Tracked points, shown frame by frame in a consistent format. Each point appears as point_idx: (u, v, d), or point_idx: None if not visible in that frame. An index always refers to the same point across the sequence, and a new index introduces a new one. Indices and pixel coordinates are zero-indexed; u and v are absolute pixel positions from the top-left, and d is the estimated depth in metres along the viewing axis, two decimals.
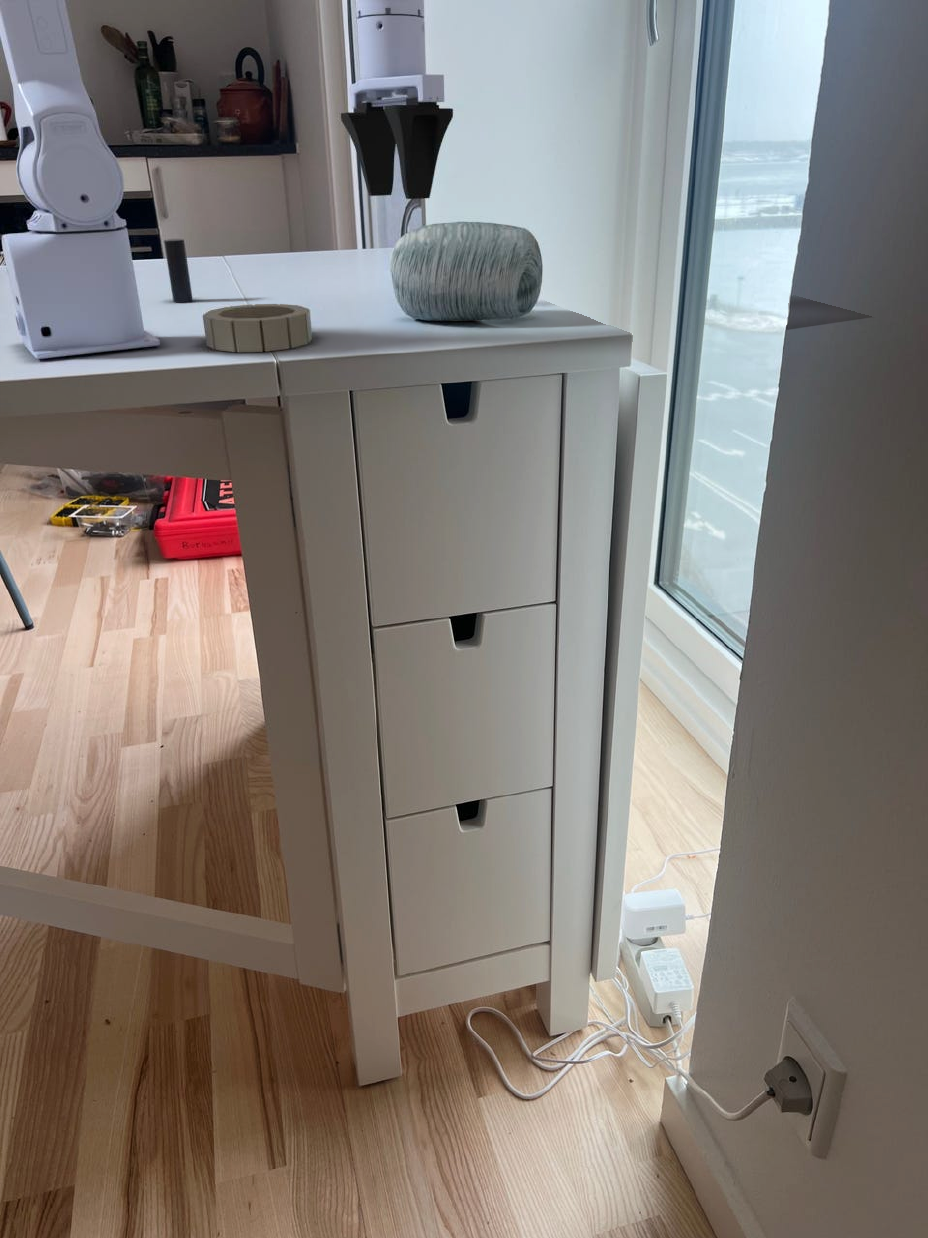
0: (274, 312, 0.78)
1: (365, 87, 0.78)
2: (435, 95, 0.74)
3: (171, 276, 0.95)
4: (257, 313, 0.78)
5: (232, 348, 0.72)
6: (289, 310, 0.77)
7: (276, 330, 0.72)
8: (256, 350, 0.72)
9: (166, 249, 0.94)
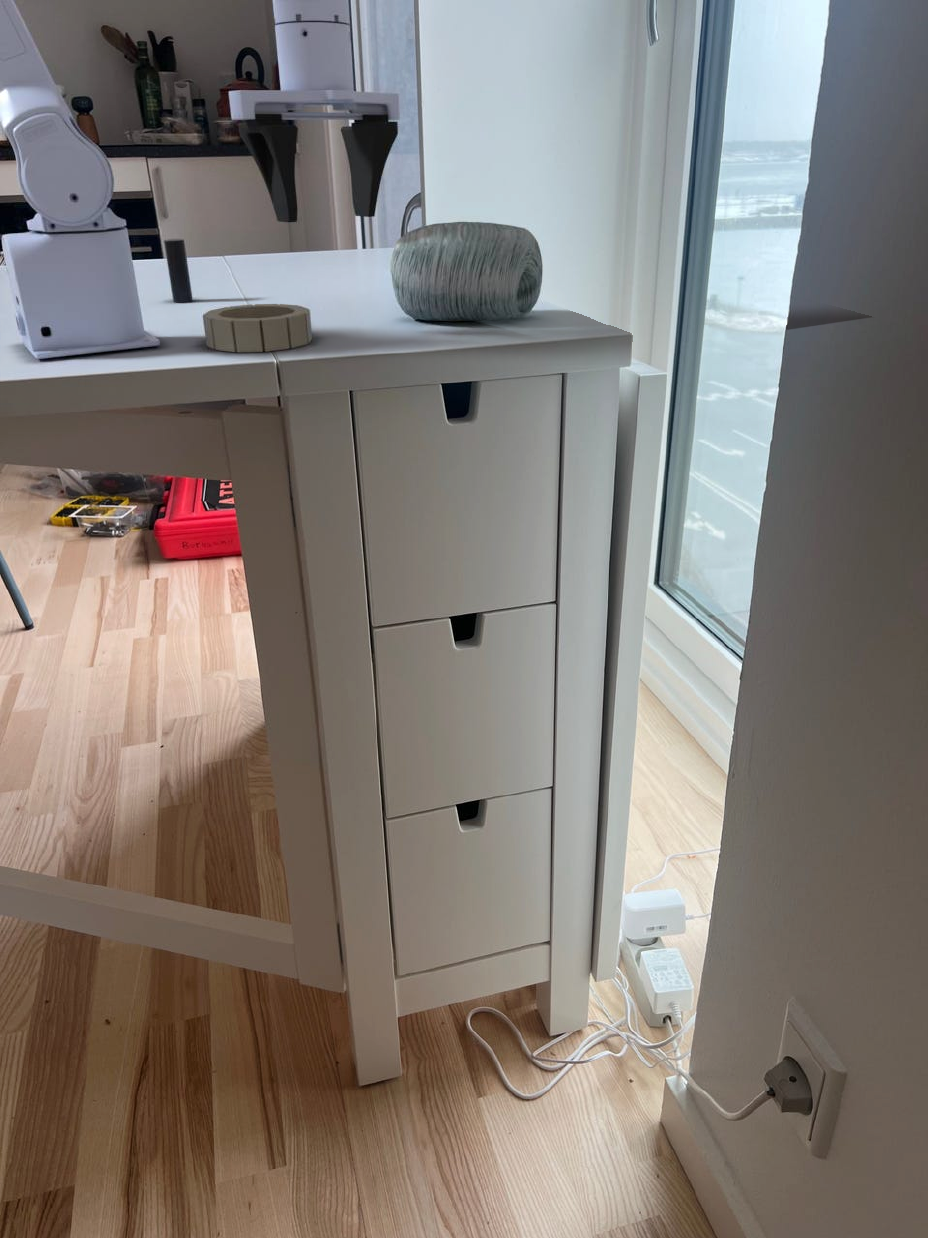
0: (274, 312, 0.78)
1: None
2: (237, 112, 0.69)
3: (171, 276, 0.95)
4: (257, 313, 0.78)
5: (232, 348, 0.72)
6: (289, 310, 0.77)
7: (276, 330, 0.72)
8: (256, 350, 0.72)
9: (166, 249, 0.94)
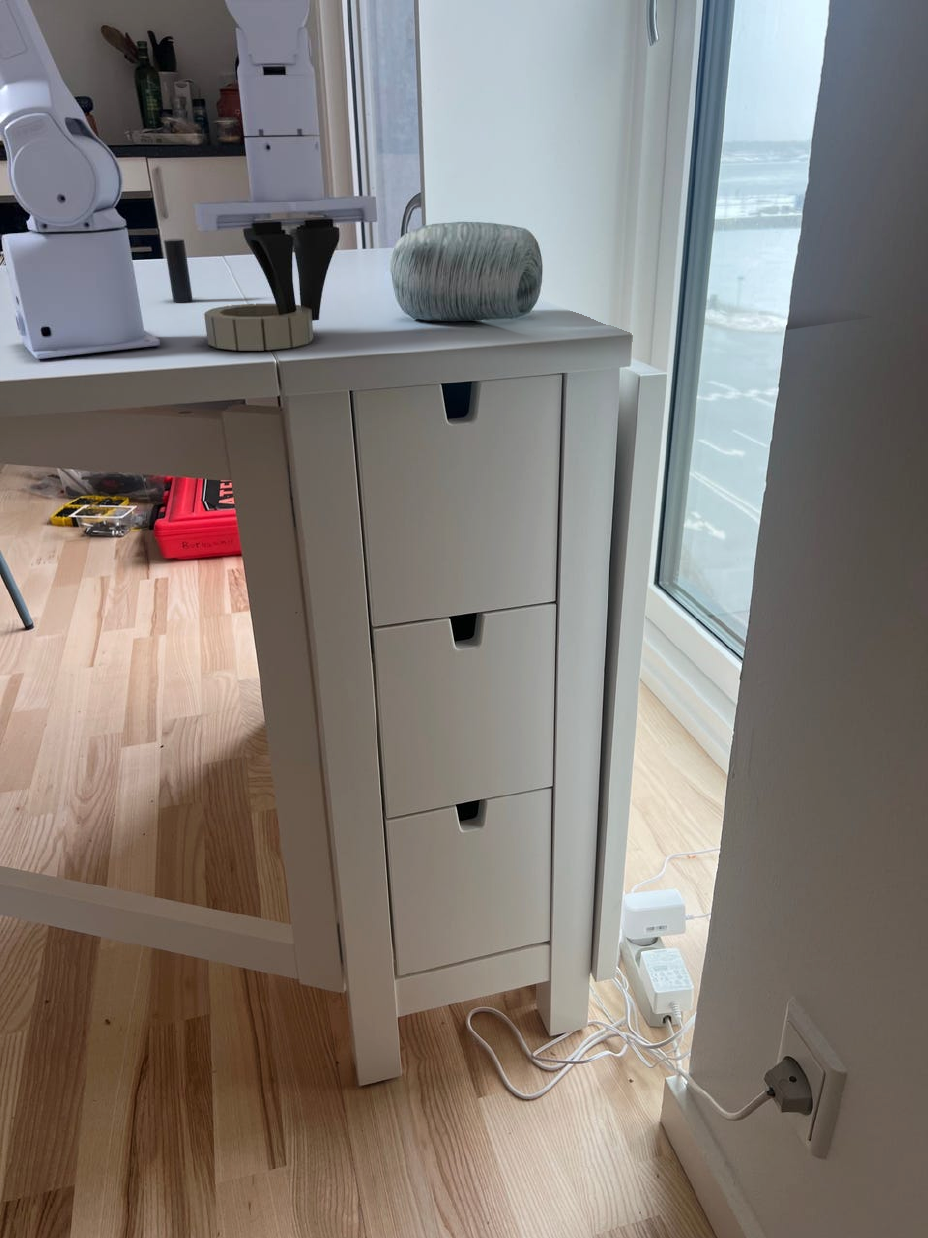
0: (276, 311, 0.78)
1: None
2: (200, 224, 0.70)
3: (171, 276, 0.95)
4: (258, 312, 0.78)
5: (233, 346, 0.72)
6: None
7: (277, 329, 0.72)
8: (257, 348, 0.72)
9: (166, 249, 0.94)
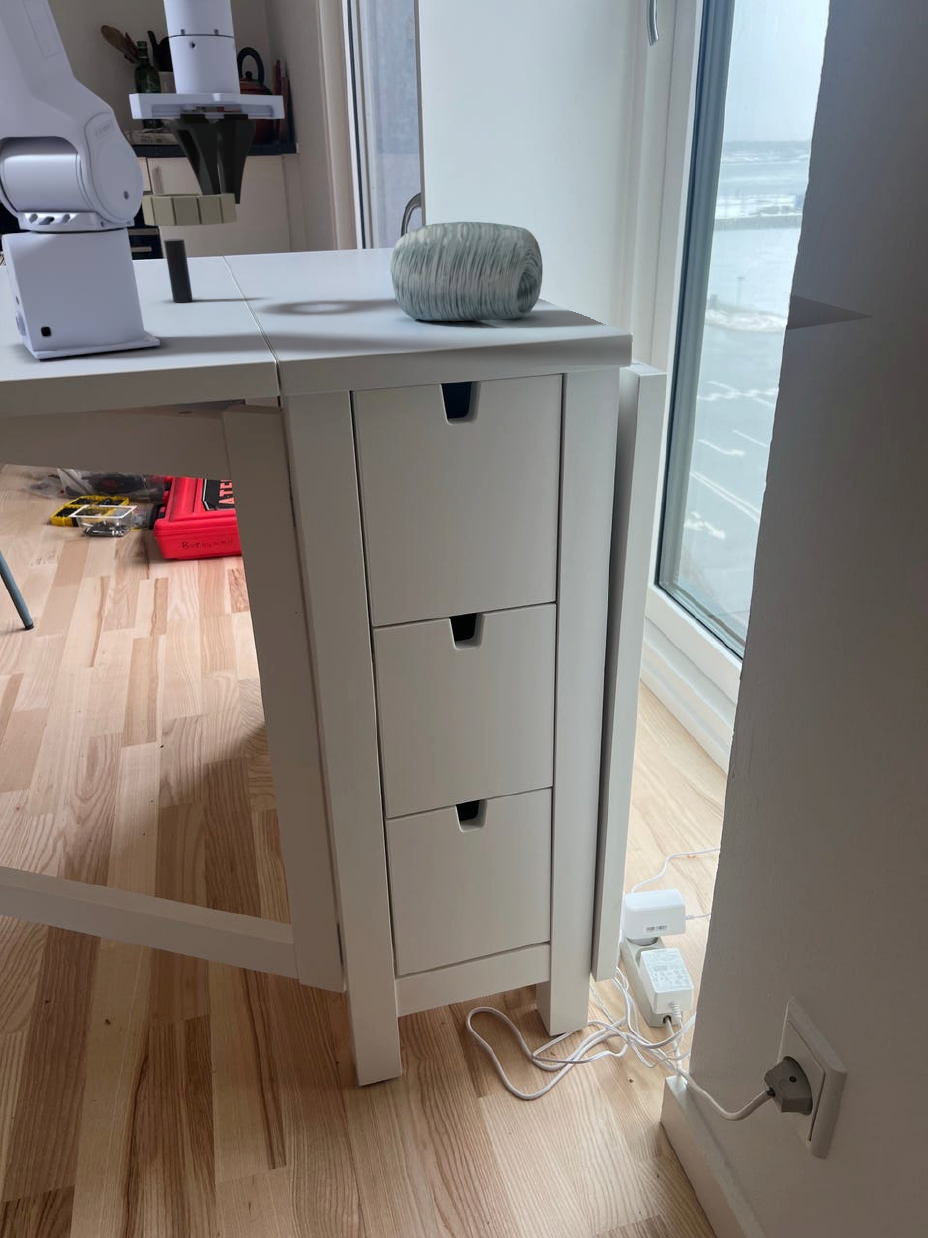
0: None
1: None
2: (136, 112, 0.81)
3: (171, 276, 0.95)
4: None
5: (172, 222, 0.84)
6: None
7: (211, 206, 0.84)
8: (194, 223, 0.84)
9: (166, 249, 0.94)
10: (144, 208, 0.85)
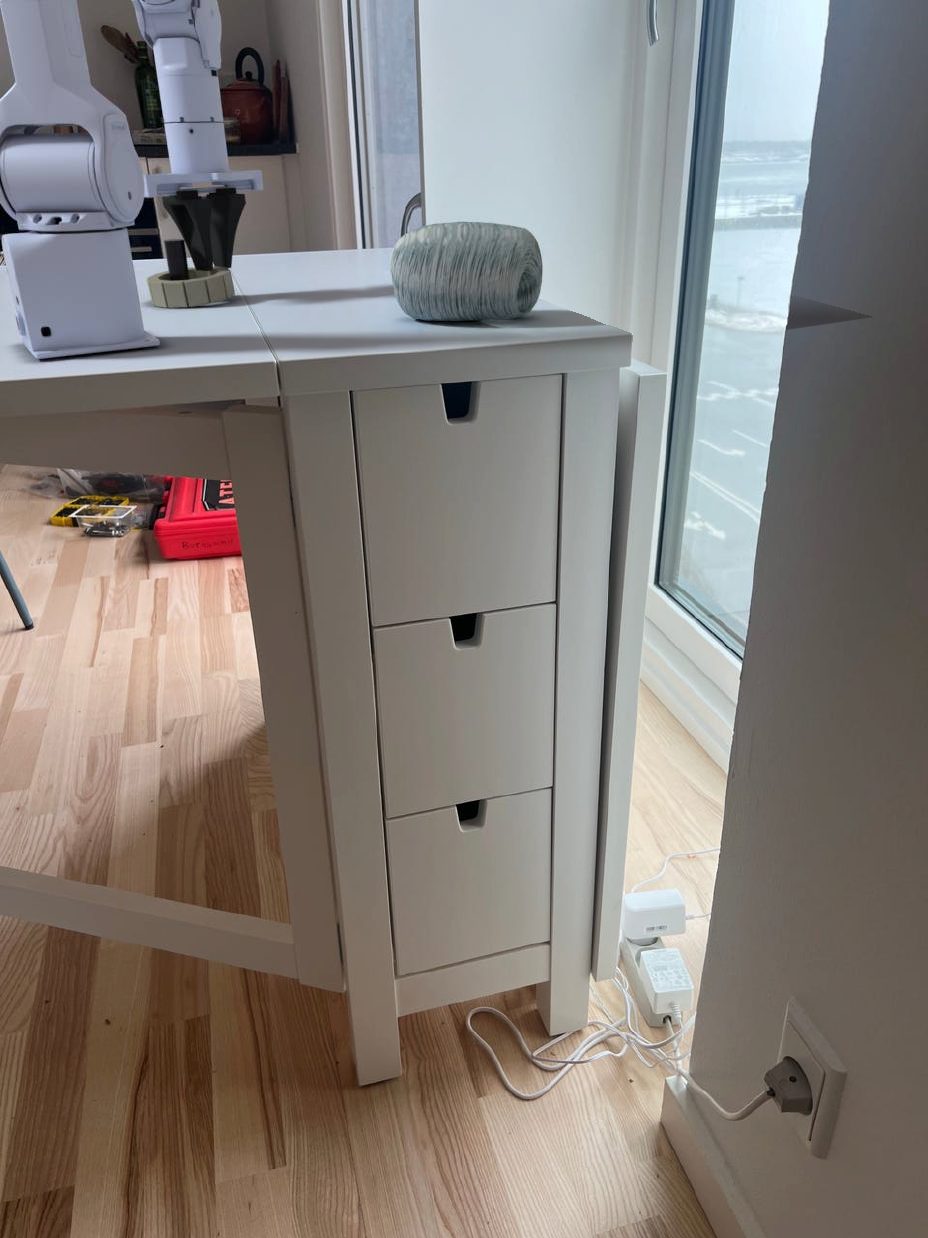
0: (194, 273, 0.98)
1: None
2: None
3: (171, 276, 0.95)
4: None
5: (184, 304, 0.93)
6: None
7: (216, 285, 0.93)
8: (204, 303, 0.93)
9: (166, 249, 0.94)
10: (153, 292, 0.93)
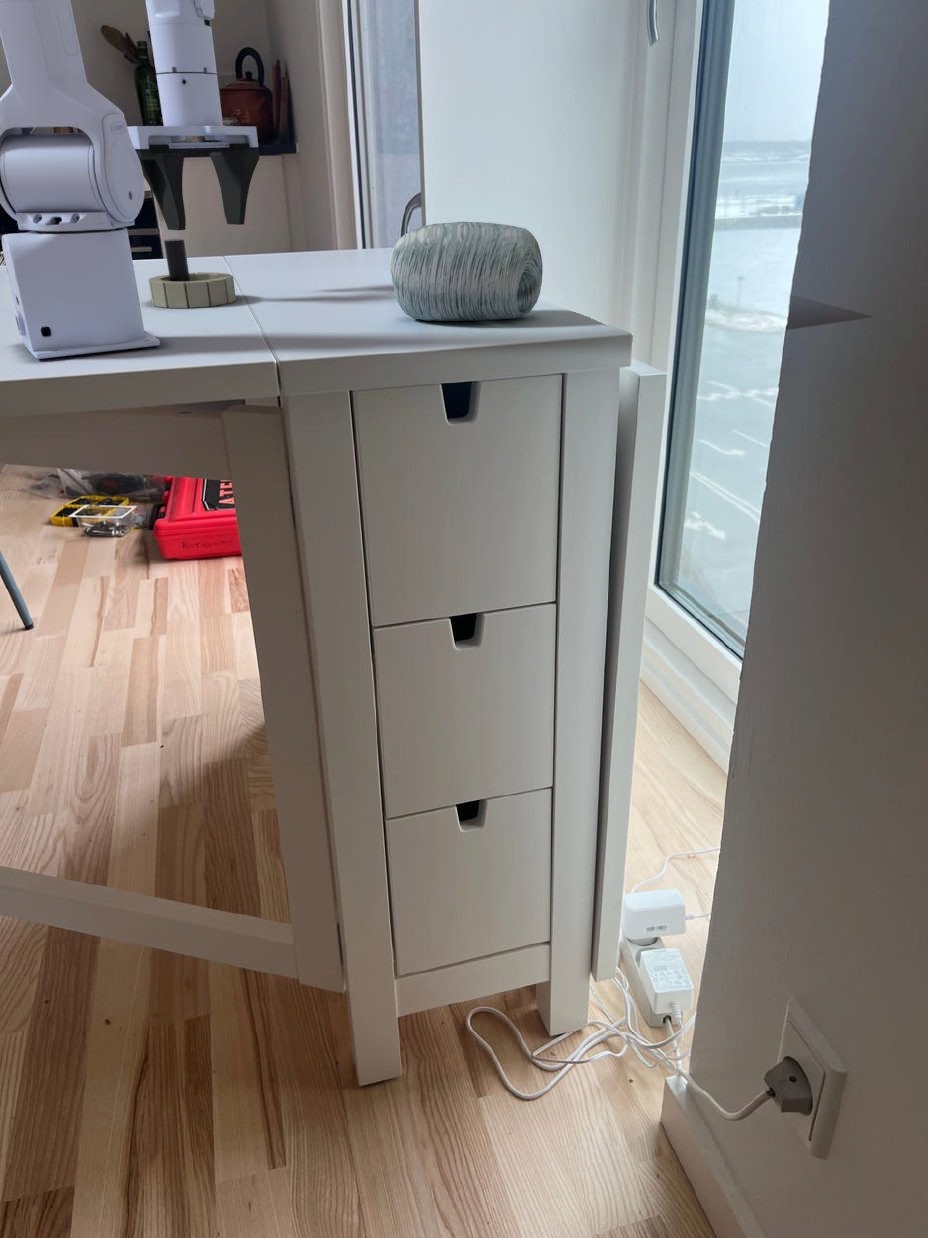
0: (196, 278, 0.98)
1: None
2: (134, 144, 0.87)
3: (171, 276, 0.95)
4: None
5: (185, 305, 0.93)
6: (211, 276, 0.98)
7: (218, 289, 0.94)
8: (205, 305, 0.93)
9: (166, 249, 0.94)
10: (154, 292, 0.93)
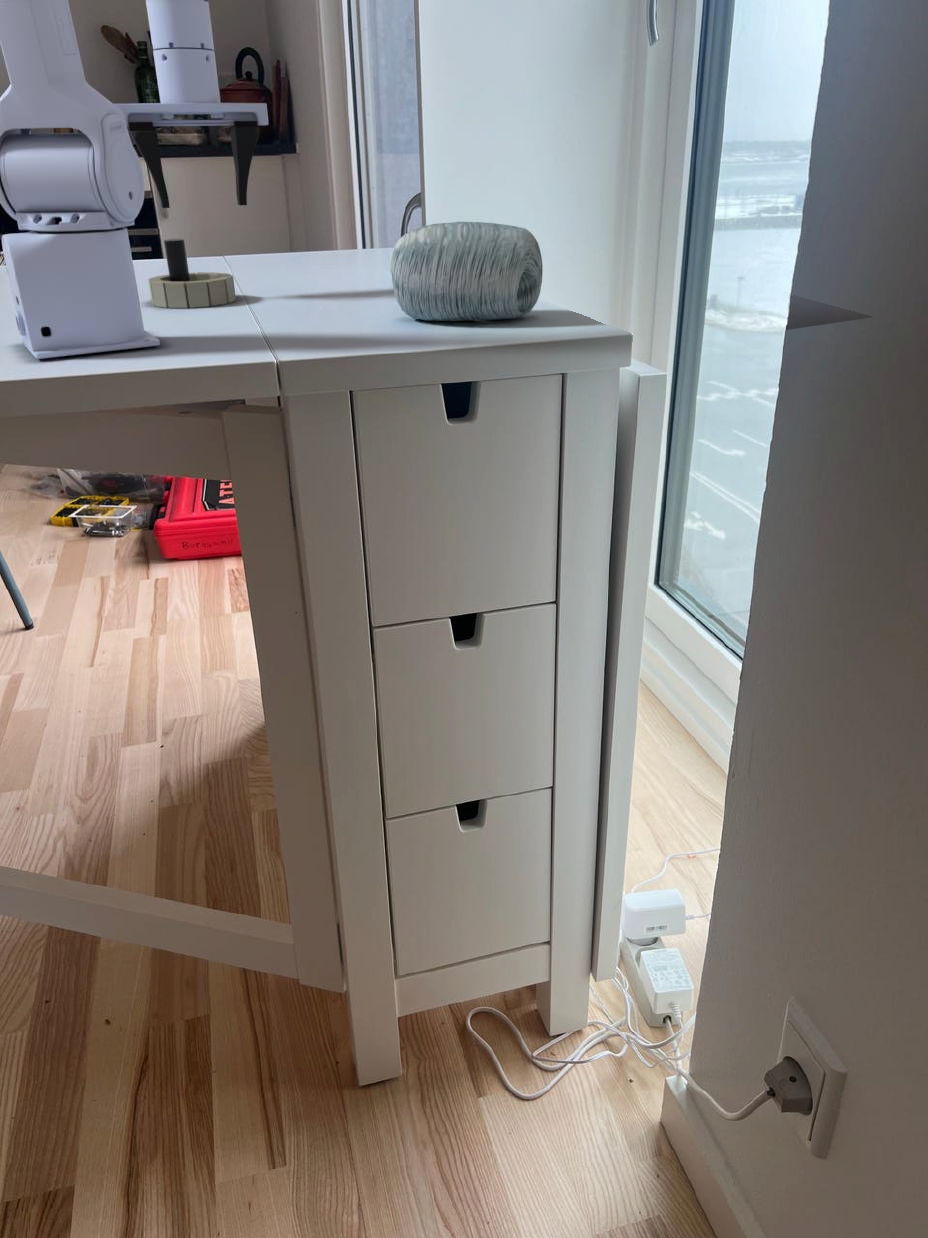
0: (196, 278, 0.98)
1: (200, 109, 0.88)
2: None
3: (171, 276, 0.95)
4: None
5: (185, 305, 0.93)
6: (211, 276, 0.98)
7: (218, 289, 0.94)
8: (205, 305, 0.93)
9: (166, 249, 0.94)
10: (154, 292, 0.93)
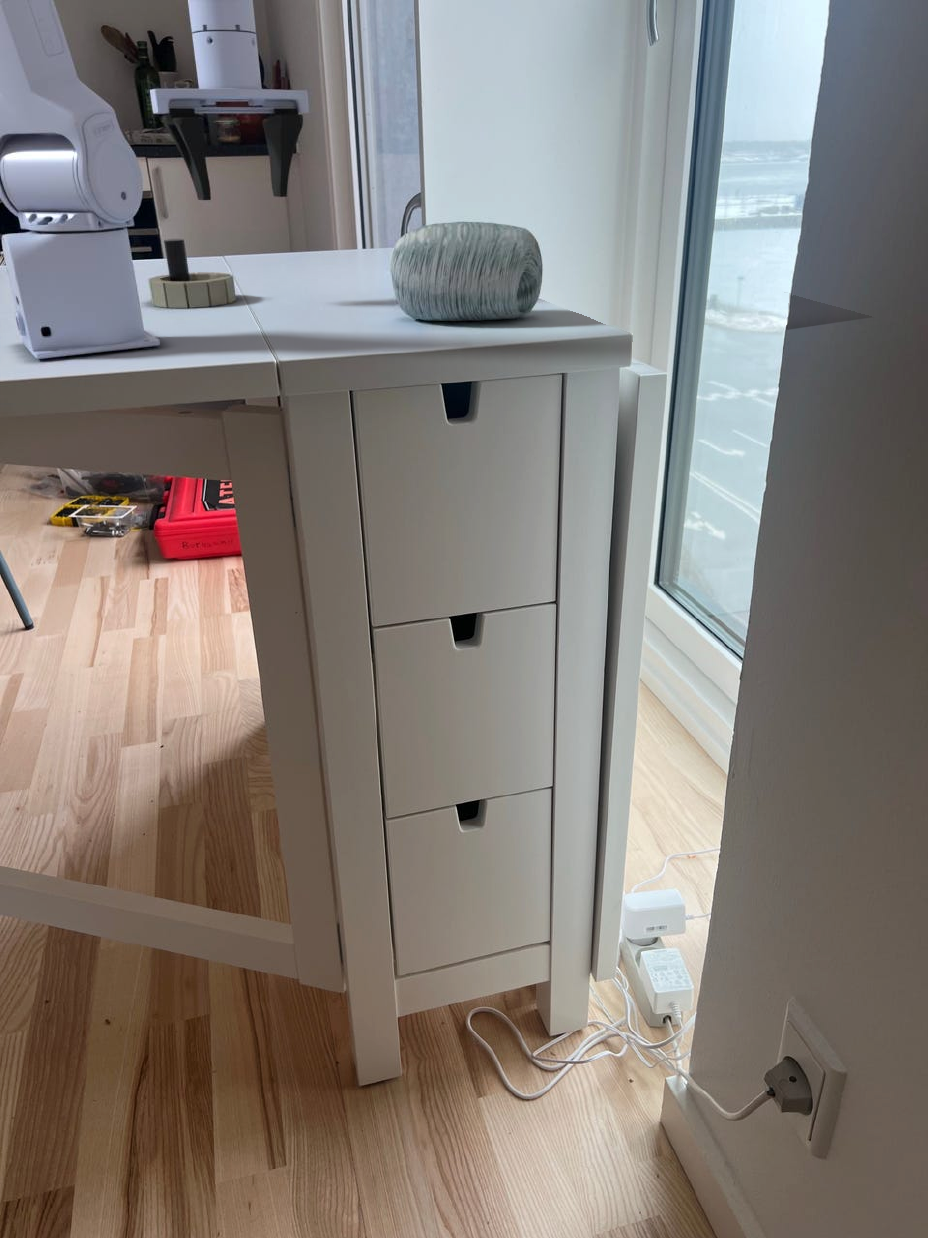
0: (196, 278, 0.98)
1: (248, 96, 0.84)
2: None
3: (171, 276, 0.95)
4: None
5: (185, 305, 0.93)
6: (211, 276, 0.98)
7: (218, 289, 0.94)
8: (205, 305, 0.93)
9: (166, 249, 0.94)
10: (154, 292, 0.93)
